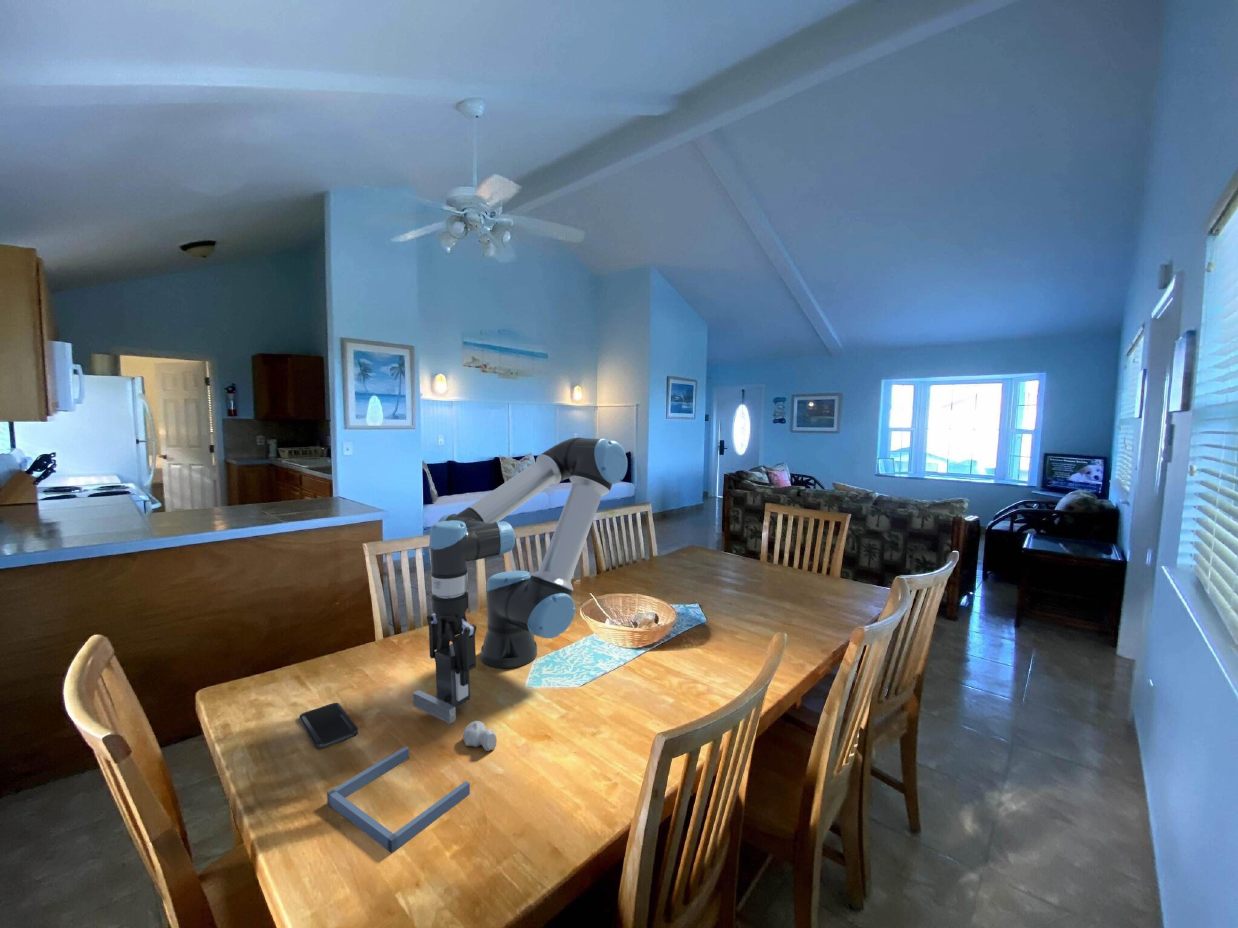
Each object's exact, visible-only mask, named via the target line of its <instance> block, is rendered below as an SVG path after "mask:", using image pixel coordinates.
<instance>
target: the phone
mask: <svg viewBox="0 0 1238 928" xmlns="http://www.w3.org/2000/svg"><path fill="white" fill-rule="evenodd" d="M299 721H300V723H301V725H302V727H303V729H304V730H305V732H306V734H307V735H308V737H309V739H310V741H311V743H312V744H313V747H314V748H315V749H317V750H322V749H325V748H329V747H331V746H333V745H337V744H339V743H341V742H344V741H347V740H350V739H352V738H354V737H356V736H357V735H358V734H359V728H358V727H357V726H356V724H355V723H354V722H353V720H352V719H351V718H350V716H349V715H348V713H347V712H346V711H345V710H344V708H343V707H342V705H341V704H340V703H338V702H332V703H329V704H325V705H323V706H321V707H317V708H313V709H311V710H308V711H305V712H302V713H300V714H299Z"/></svg>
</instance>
